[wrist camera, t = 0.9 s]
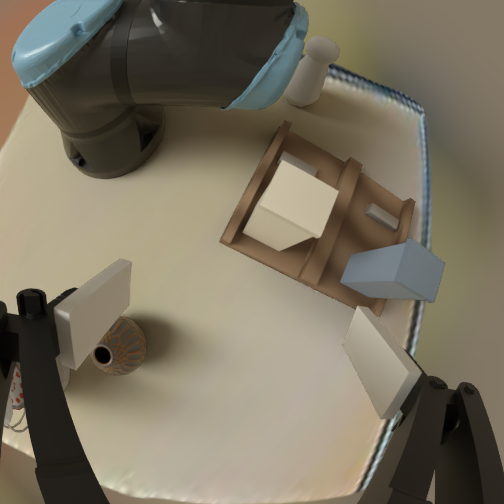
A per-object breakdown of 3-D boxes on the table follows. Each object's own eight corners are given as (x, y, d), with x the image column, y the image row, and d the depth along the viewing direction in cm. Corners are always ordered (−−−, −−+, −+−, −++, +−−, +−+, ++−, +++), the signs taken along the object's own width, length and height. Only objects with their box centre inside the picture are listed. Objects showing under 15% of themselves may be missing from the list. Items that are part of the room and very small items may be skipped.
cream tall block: (279, 253, 35) (320, 237, 22) (239, 233, 34) (259, 205, 22) (294, 222, 36) (338, 191, 23) (255, 202, 35) (282, 159, 22)
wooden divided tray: (367, 315, 38) (381, 317, 34) (219, 242, 35) (220, 237, 32) (403, 207, 41) (416, 202, 37) (277, 131, 38) (283, 119, 35)
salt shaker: (312, 87, 41) (343, 35, 28) (316, 114, 40) (352, 63, 27) (278, 81, 40) (301, 25, 27) (280, 109, 39) (307, 52, 26)
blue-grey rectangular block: (369, 299, 36) (434, 303, 24) (338, 283, 36) (398, 281, 23) (380, 269, 37) (445, 262, 24) (350, 252, 36) (411, 238, 24)
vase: (99, 311, 32) (70, 318, 23) (150, 314, 33) (133, 323, 25) (102, 362, 31) (76, 383, 23) (152, 367, 32) (137, 391, 24)
